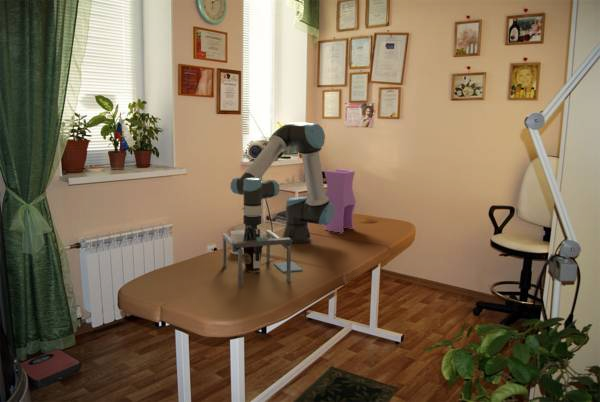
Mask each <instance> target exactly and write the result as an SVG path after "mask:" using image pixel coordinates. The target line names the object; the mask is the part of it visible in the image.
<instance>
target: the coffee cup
mask: <svg viewBox="0 0 600 402" xmlns="http://www.w3.org/2000/svg"><path fill="white" fill-rule="evenodd" d="M245 241H249V240H245ZM261 247H262V248H263V247H264V246H261ZM243 248H244V251H243V252H244V254H243V261H244V266H245V267H244V271H246V272H249V273H259V272H260V271H261V267H260V268H253V252H254V248H253V247H243ZM261 259H262V253H260V261H262V260H261Z"/></svg>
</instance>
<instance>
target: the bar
mask: <svg viewBox="0 0 600 402" xmlns="http://www.w3.org/2000/svg"><path fill="white" fill-rule="evenodd" d="M281 244H290V245H291V248H293V243H292V241H291V239H290V238H289V237H288V238H283V237H280V238H275V239H273V238H270V239H268V238H267V236H260V237H257V240H249V241H237V242H232V244H231V245H230V251H231V250H232V251H233V252H236V248H243V247H255V246H263V247H267V245H270V246H276V245H278V246H279V245H281Z"/></svg>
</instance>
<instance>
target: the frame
mask: <svg viewBox="0 0 600 402" xmlns="http://www.w3.org/2000/svg"><path fill="white" fill-rule="evenodd" d="M265 233H266V237H267V238H268V239H275V238H281V237H280V236H278V235H277V234H276V233H274V232H273V231H272V230H271V229H266V230H265ZM232 242H234V241H233V240H232V239H231V236H230V235H228V233H226V232H223V233H222V268H226V267H227V243H228V245H229V246H231V244H232ZM280 245H281V246H282V247H283V248H284V249H286V262H287V272H286V282H287V283H290V282H291V273H292V272H291V262H292V261H291V260H292V247H291V245H290V244H280ZM265 247H266V253H265V254H266V256H265V257H266V259H265V260H266V263H267V264H269V263H271V261H270V259H271V258H270V257H271V255H270V254H271V245H267V246H265ZM236 252H237V253H238V256H237V260H238V264H237V270H238V271H237V273H238V274H237V275H238V276H237V278H238V279H237V280H238V284H237V285H238V288H243V255H244V254H243V250H242V249H241V248H236ZM242 254H243V255H242Z"/></svg>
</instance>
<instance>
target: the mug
mask: <svg viewBox="0 0 600 402" xmlns="http://www.w3.org/2000/svg"><path fill="white" fill-rule="evenodd" d="M244 232H245V229H237V230H236V229H235V230H231V232H230V238H231V239H232V240H233V241H234V242H237V241H243V239H244ZM241 249H242V250H243V251H244V248H241ZM230 252H231V254H233V255H238V253H237V252H233V251H232V250H231V249H230ZM242 256H244V252H243V254H242Z"/></svg>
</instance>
